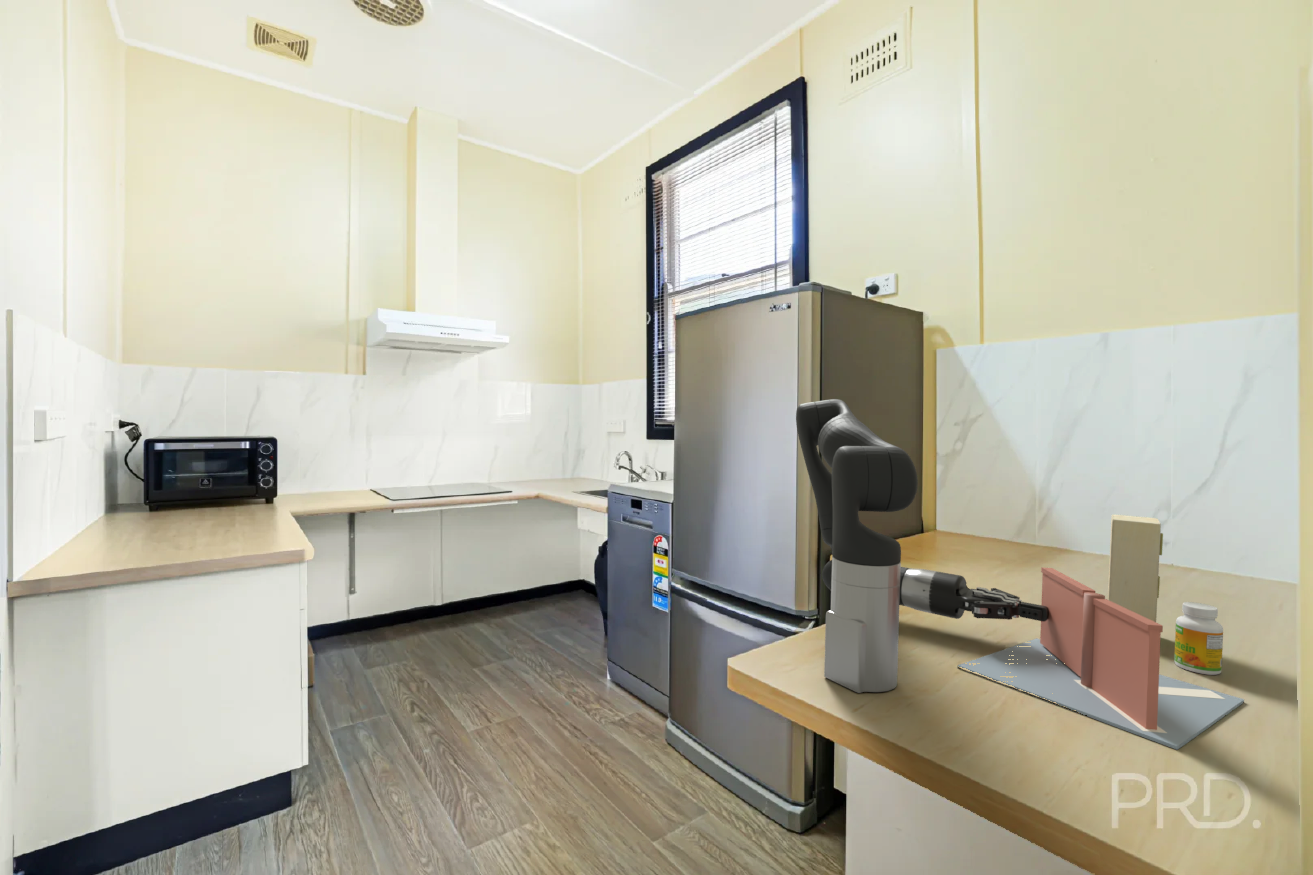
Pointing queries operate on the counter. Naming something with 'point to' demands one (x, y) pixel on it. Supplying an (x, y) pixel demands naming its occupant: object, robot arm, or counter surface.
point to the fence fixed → (1121, 658)
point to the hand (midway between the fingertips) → (1047, 614)
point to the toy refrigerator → (1135, 563)
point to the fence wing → (1063, 617)
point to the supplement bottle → (1199, 639)
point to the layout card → (1178, 701)
